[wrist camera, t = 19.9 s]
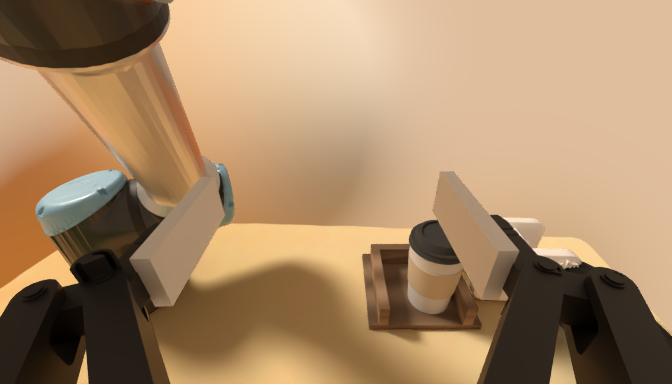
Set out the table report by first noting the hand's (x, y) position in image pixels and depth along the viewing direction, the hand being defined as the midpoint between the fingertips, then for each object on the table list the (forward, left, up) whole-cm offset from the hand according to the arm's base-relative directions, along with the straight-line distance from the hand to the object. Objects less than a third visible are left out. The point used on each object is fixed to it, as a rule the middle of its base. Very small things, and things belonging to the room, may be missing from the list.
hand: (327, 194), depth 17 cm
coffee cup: (+4, +24, -33) cm, 41 cm away
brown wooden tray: (+2, +25, -34) cm, 43 cm away
